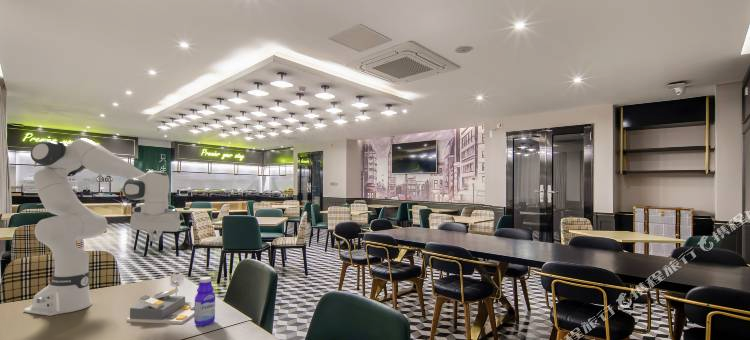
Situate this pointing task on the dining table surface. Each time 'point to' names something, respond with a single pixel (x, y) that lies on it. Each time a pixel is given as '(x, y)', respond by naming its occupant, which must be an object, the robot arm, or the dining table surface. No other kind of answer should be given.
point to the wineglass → (176, 279)
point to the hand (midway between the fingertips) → (154, 240)
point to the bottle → (204, 303)
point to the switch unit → (163, 311)
